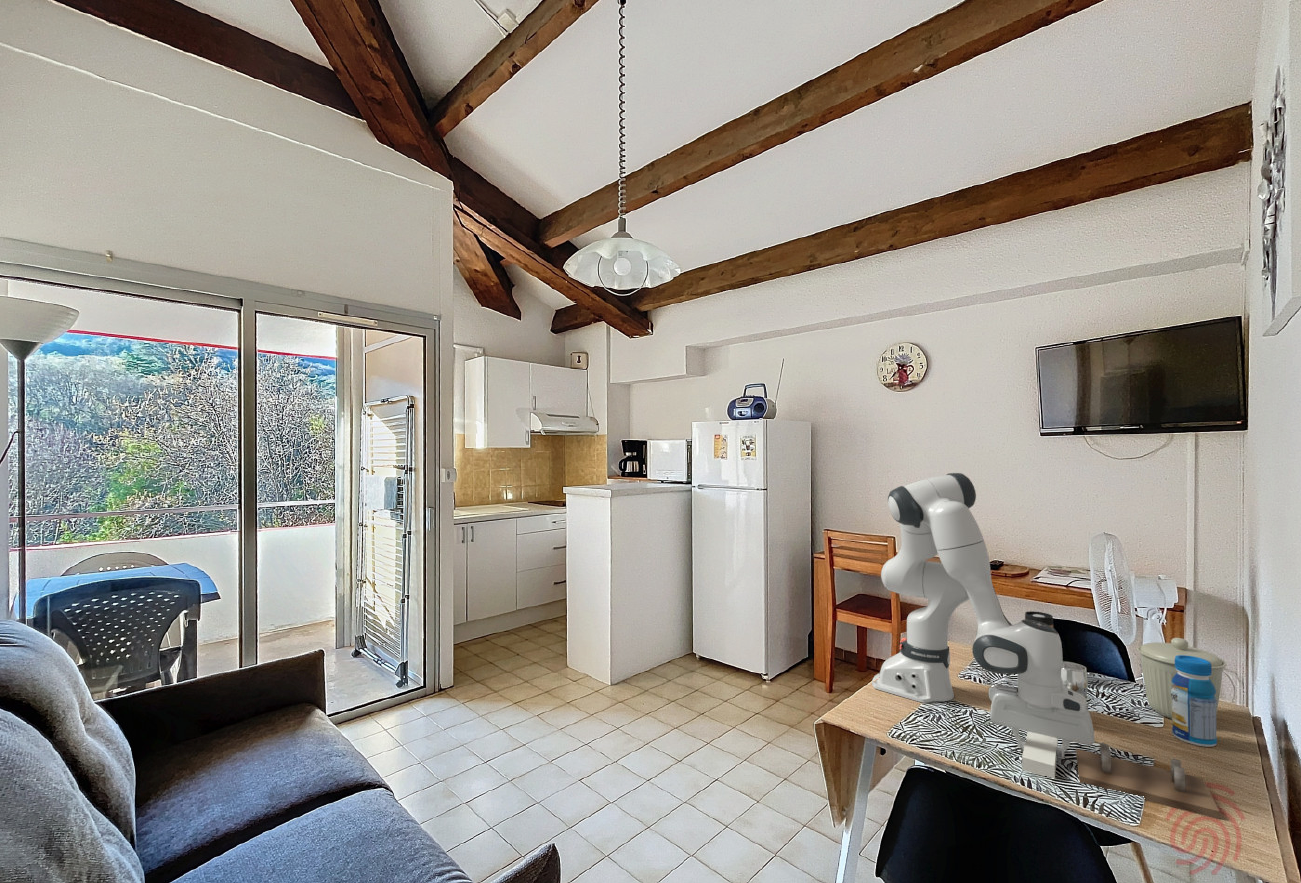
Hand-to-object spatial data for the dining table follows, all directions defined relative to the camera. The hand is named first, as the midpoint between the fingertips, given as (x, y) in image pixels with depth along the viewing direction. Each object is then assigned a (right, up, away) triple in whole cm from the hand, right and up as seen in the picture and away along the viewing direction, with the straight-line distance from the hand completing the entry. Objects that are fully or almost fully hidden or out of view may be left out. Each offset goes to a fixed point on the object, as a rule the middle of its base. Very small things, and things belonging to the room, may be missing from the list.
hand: (1040, 751), depth 135 cm
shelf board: (0, -2, 0) cm, 2 cm away
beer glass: (+21, -2, +18) cm, 28 cm away
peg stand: (+15, -2, -10) cm, 18 cm away
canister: (+54, -3, +23) cm, 58 cm away
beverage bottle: (+45, -2, +10) cm, 46 cm away
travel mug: (+33, -3, +50) cm, 60 cm away
